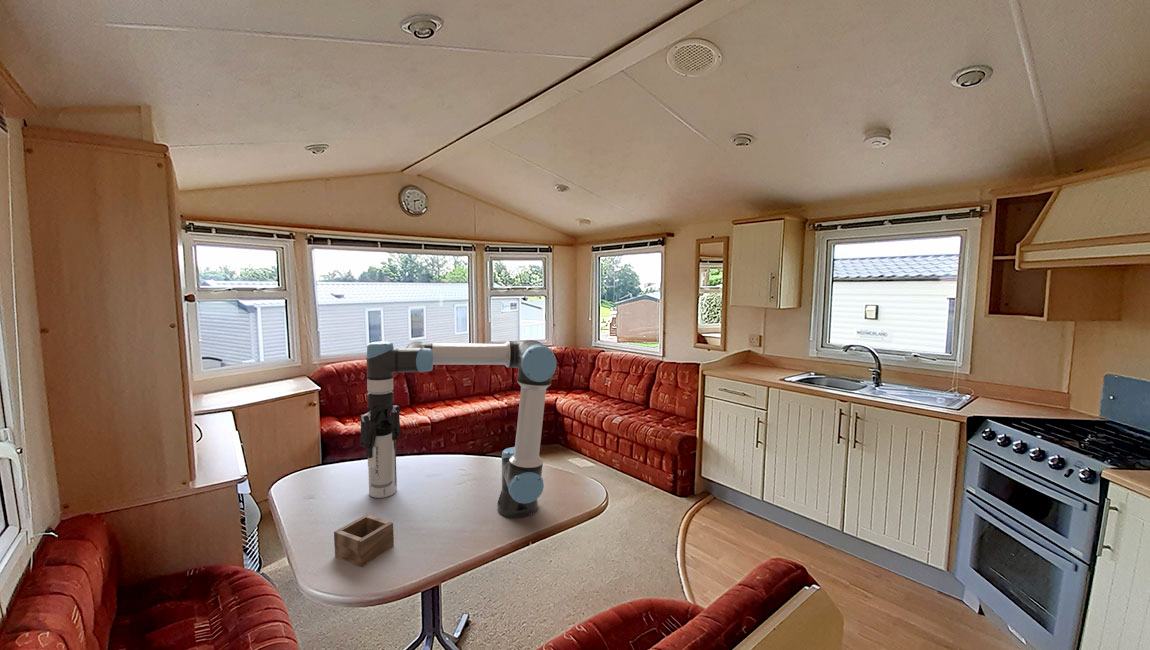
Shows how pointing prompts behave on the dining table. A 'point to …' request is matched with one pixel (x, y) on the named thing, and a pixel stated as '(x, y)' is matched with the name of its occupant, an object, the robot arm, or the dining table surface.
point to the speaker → (387, 490)
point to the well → (363, 540)
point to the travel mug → (382, 457)
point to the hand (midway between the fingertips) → (381, 463)
